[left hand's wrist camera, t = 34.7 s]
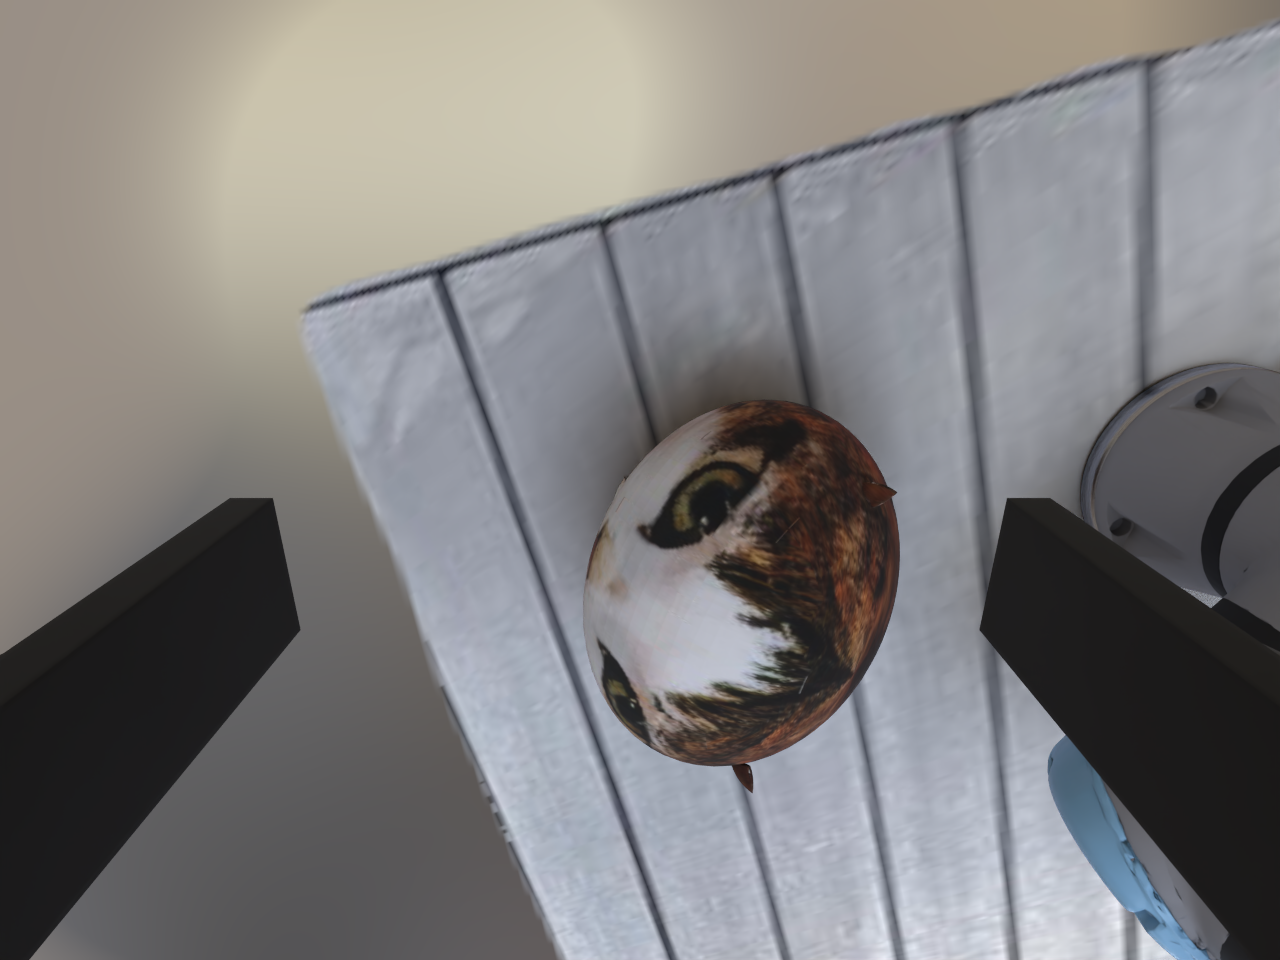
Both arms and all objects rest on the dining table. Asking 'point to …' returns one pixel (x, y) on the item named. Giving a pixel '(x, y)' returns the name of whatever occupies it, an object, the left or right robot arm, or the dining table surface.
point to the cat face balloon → (741, 583)
